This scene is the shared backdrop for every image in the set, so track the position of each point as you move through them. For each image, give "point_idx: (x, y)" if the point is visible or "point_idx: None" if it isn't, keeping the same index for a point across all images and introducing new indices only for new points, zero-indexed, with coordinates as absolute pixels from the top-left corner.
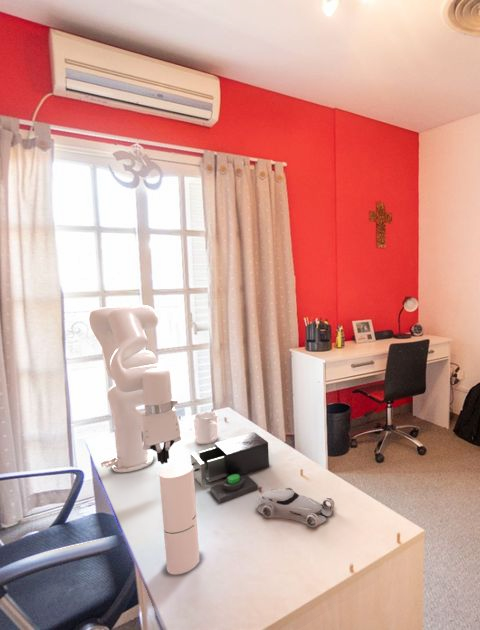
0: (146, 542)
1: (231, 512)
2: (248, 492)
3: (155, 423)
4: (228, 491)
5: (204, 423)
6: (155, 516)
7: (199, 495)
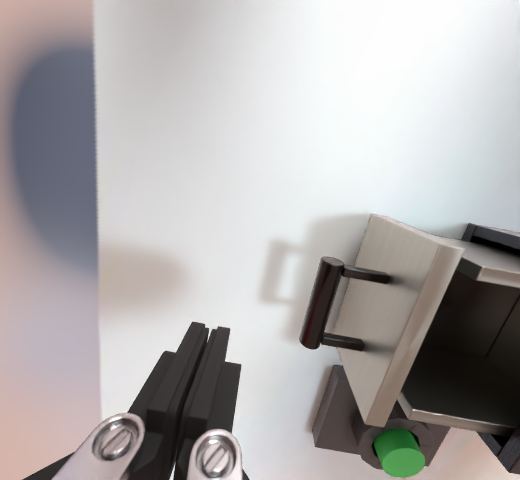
0: None
1: (304, 475)
2: None
3: None
4: (353, 437)
5: None
6: None
7: (301, 355)
